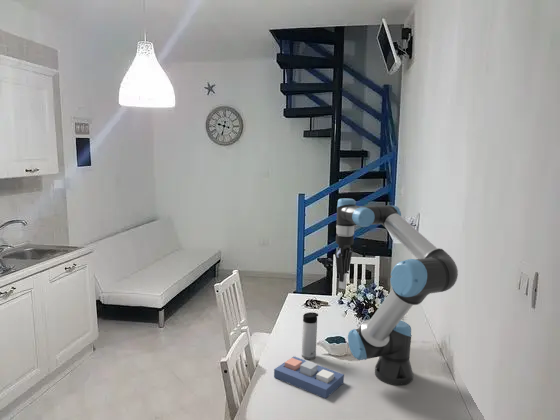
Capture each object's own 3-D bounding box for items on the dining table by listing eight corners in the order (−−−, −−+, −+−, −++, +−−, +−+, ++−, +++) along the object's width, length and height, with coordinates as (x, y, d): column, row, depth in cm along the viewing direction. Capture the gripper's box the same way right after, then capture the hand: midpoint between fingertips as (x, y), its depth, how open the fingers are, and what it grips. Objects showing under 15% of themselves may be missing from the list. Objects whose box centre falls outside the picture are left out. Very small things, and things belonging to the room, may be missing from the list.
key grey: (317, 372, 171) (317, 364, 171) (310, 377, 167) (311, 369, 167) (306, 368, 174) (307, 360, 174) (300, 373, 170) (300, 365, 170)
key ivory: (333, 381, 167) (334, 373, 167) (327, 387, 163) (327, 378, 163) (322, 377, 170) (323, 369, 170) (316, 382, 166) (316, 374, 166)
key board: (343, 382, 170) (343, 374, 169) (325, 398, 159) (326, 389, 158) (293, 364, 184) (293, 356, 183) (274, 377, 173) (274, 369, 172)
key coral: (301, 369, 176) (301, 361, 175) (294, 374, 172) (295, 366, 171) (291, 365, 179) (291, 357, 178) (284, 370, 175) (284, 362, 174)
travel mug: (315, 360, 187) (317, 316, 185) (300, 358, 188) (302, 315, 186) (317, 354, 193) (319, 311, 191) (302, 352, 195) (304, 310, 192)
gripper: (343, 231, 190) (341, 282, 193) (329, 235, 179) (327, 290, 182) (359, 233, 186) (356, 286, 189) (346, 238, 175) (343, 293, 178)
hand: (342, 288), depth 186 cm, fingers closed
